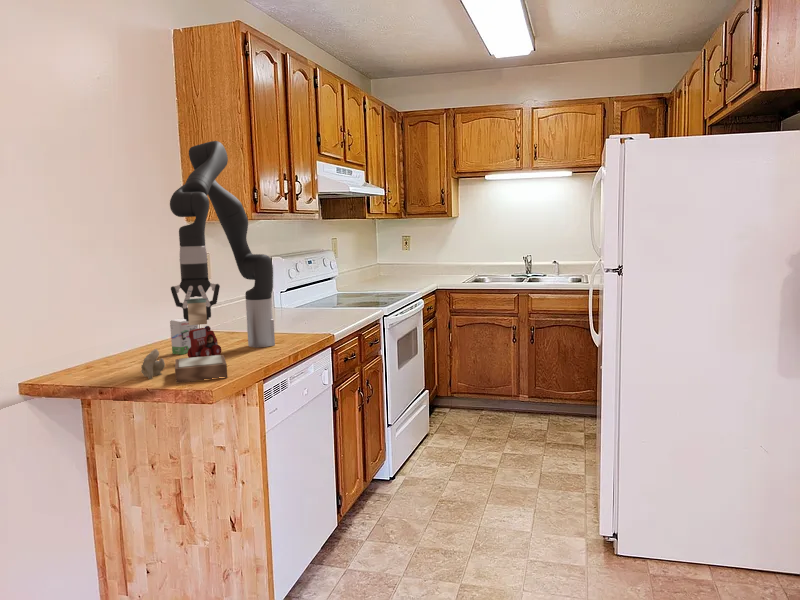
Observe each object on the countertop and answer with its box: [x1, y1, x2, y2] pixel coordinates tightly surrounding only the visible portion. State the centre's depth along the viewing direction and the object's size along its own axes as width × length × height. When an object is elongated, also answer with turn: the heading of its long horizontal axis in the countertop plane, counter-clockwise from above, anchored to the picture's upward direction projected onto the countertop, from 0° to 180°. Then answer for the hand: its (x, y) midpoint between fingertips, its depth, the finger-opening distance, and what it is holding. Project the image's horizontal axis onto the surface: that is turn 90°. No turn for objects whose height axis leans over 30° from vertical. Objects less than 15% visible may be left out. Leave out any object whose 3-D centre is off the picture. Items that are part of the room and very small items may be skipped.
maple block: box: [187, 297, 208, 326], centre depth 181 cm, size 5×5×7 cm
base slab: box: [174, 354, 228, 384], centre depth 183 cm, size 14×14×4 cm
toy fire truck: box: [186, 325, 222, 358], centre depth 207 cm, size 7×12×10 cm, turn 157°
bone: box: [140, 348, 166, 380], centre depth 183 cm, size 9×6×10 cm
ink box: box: [169, 317, 199, 355], centre depth 217 cm, size 8×5×12 cm, turn 151°
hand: (197, 319), depth 181 cm, fingers closed on maple block, 5 cm apart
